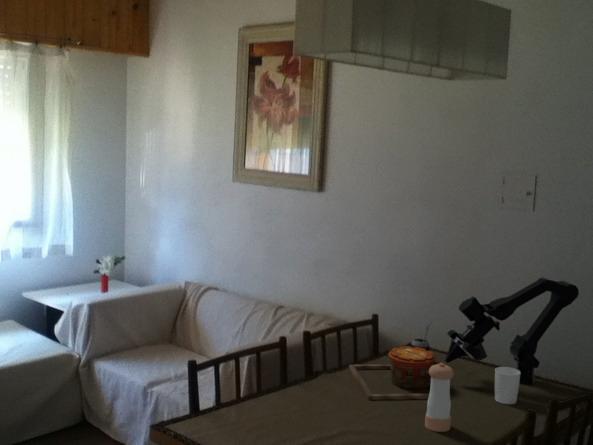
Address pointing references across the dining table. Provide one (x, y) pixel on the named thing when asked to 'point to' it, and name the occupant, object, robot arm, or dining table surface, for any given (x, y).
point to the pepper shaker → (439, 399)
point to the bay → (380, 396)
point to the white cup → (506, 384)
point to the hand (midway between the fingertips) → (446, 361)
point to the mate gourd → (422, 341)
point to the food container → (411, 367)
